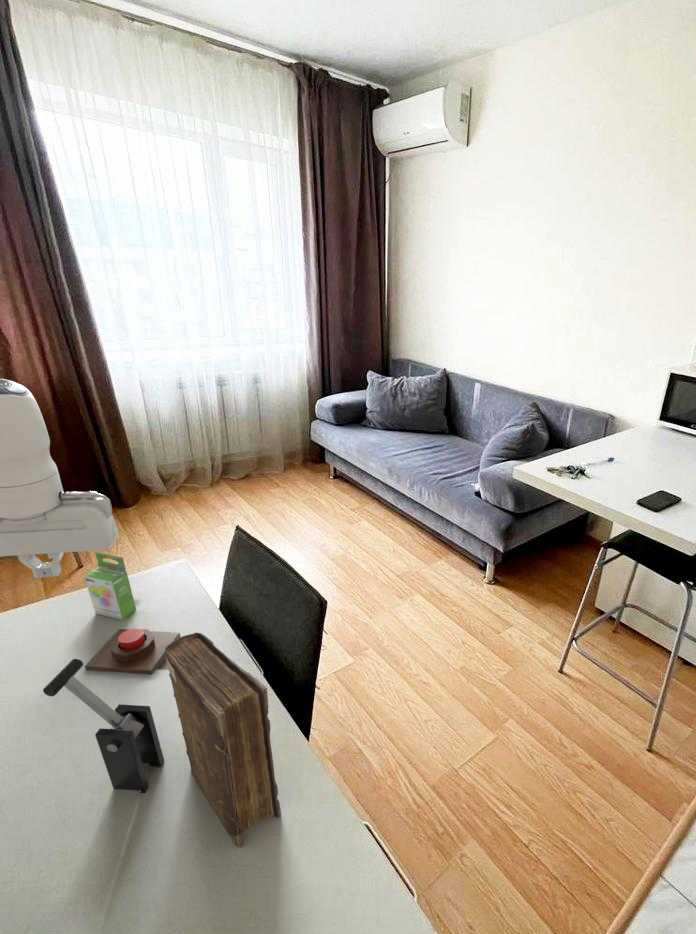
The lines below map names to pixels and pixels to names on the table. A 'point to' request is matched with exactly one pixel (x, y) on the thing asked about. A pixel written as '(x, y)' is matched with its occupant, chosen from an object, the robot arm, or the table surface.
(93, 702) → the lever
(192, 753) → the book
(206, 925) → the table surface
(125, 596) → the ink box
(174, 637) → the button block
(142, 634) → the button
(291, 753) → the table surface
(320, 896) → the table surface
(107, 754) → the bracket
